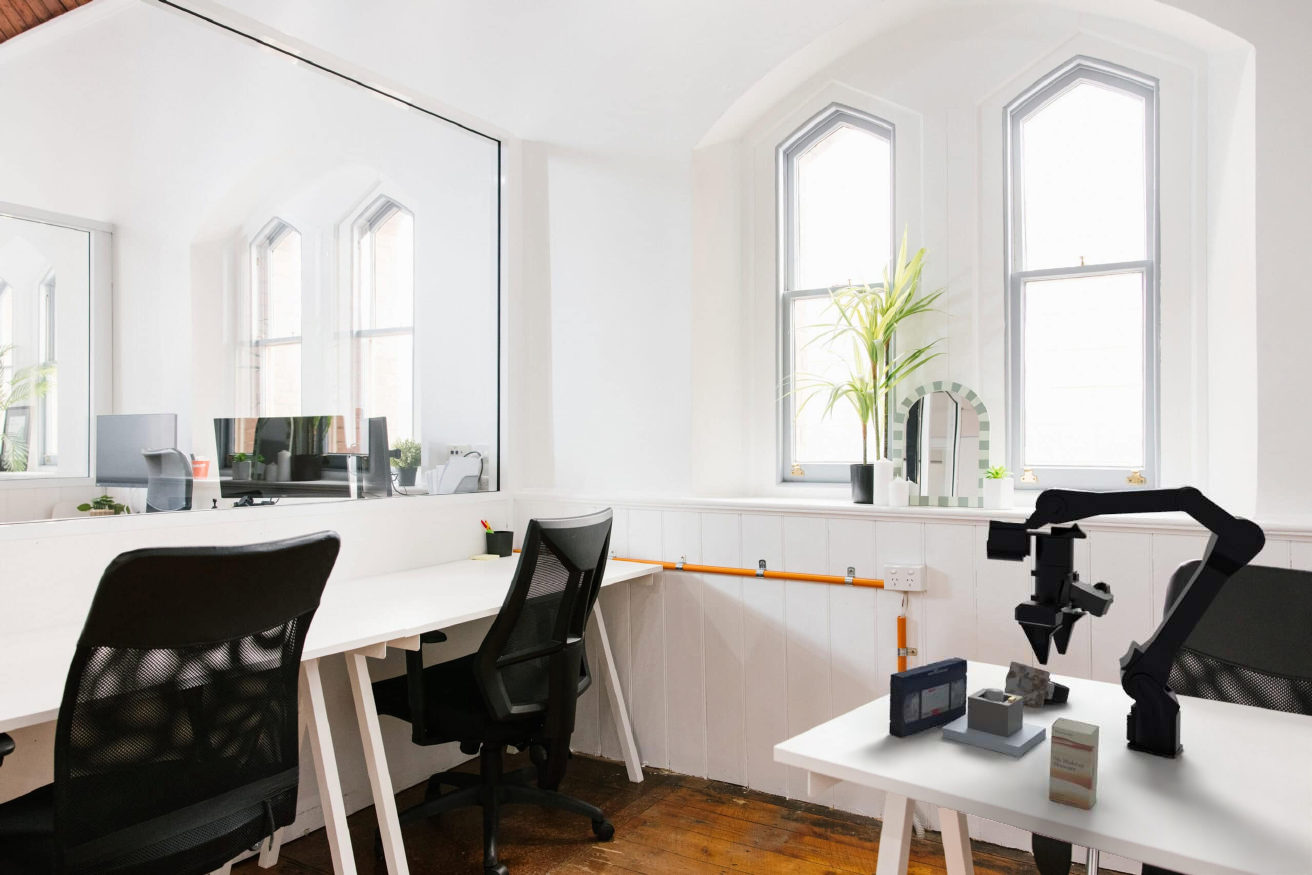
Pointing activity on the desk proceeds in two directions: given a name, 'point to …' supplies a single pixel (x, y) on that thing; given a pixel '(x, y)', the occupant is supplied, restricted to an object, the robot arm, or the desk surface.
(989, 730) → the open cubby box
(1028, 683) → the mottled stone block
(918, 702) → the vhs cassette tape
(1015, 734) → the square peg stand
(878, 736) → the desk surface
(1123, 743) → the desk surface
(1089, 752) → the skincare box
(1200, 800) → the desk surface
